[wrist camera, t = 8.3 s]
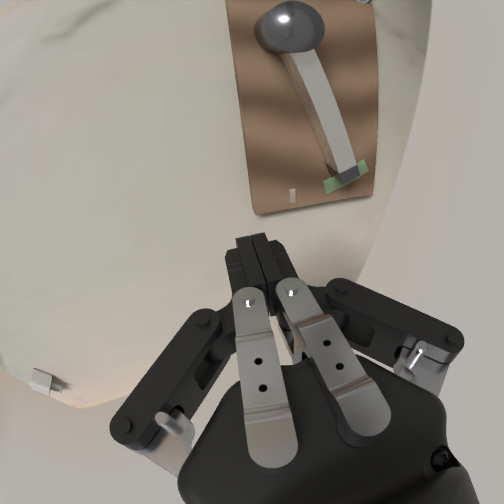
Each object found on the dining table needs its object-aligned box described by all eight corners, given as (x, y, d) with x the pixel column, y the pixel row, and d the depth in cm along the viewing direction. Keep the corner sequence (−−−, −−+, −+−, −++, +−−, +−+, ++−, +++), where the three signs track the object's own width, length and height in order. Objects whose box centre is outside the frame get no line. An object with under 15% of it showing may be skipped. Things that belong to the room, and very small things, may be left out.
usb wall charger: (34, 366, 40) (30, 383, 37) (63, 378, 43) (60, 394, 40) (34, 374, 42) (31, 390, 39) (62, 385, 45) (60, 401, 42)
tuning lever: (244, 20, 17) (256, 10, 14) (290, 5, 17) (310, -6, 13) (318, 176, 28) (338, 195, 24) (354, 159, 27) (376, 175, 24)
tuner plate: (225, -1, 17) (227, -5, 15) (364, 6, 18) (373, 4, 17) (252, 208, 30) (256, 216, 29) (366, 189, 32) (373, 195, 30)
